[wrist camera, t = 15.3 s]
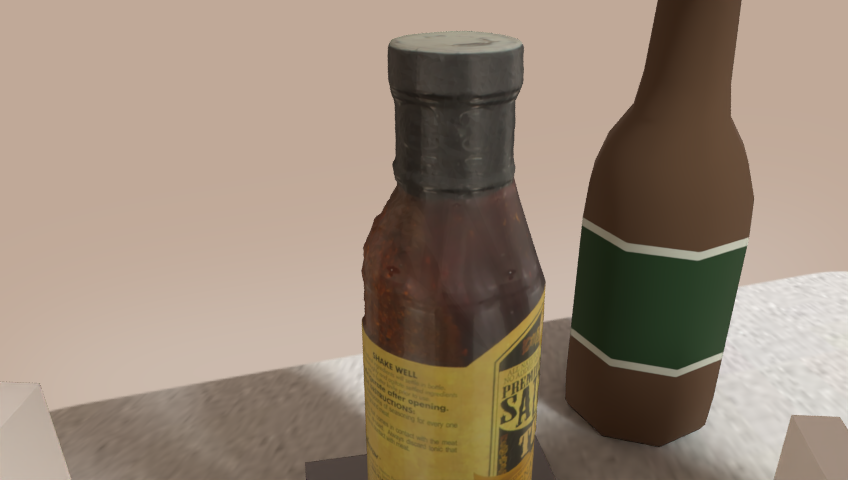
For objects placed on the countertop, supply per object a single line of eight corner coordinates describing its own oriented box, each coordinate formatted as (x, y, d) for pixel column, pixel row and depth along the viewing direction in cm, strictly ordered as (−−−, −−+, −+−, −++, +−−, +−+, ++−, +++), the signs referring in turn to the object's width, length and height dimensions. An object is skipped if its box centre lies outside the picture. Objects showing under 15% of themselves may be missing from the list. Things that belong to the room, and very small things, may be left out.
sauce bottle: (528, 618, 26) (578, 67, 18) (357, 604, 27) (325, 62, 18) (523, 485, 32) (558, 23, 23) (383, 476, 33) (368, 21, 24)
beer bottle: (544, 361, 42) (585, -94, 31) (674, 353, 43) (758, -95, 32) (584, 456, 35) (653, -86, 24) (737, 445, 36) (872, -87, 25)
